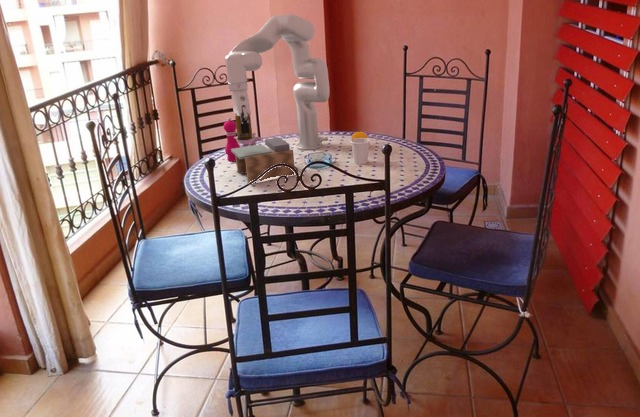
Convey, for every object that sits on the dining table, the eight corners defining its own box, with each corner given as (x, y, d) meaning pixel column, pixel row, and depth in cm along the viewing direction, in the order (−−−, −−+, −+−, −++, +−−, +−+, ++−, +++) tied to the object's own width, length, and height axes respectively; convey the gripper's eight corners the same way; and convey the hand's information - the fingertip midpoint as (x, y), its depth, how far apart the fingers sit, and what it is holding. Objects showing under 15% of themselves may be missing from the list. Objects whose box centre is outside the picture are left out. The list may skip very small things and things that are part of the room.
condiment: (250, 135, 227) (247, 106, 222) (257, 139, 219) (253, 109, 215) (233, 137, 224) (230, 108, 220) (239, 142, 217) (235, 112, 212)
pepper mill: (239, 162, 251) (233, 119, 244) (224, 162, 253) (218, 119, 245) (244, 157, 258) (239, 115, 250) (229, 157, 259) (224, 115, 252)
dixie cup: (360, 158, 244) (359, 136, 240) (374, 161, 238) (373, 139, 234) (347, 163, 238) (346, 141, 235) (361, 166, 233) (360, 143, 229)
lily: (267, 150, 270) (263, 132, 272) (256, 147, 260) (252, 128, 261) (247, 157, 275) (243, 139, 276) (235, 154, 264) (231, 135, 265)
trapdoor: (279, 147, 237) (278, 137, 236) (290, 154, 225) (289, 144, 223) (231, 155, 230) (230, 145, 228) (240, 163, 218) (239, 152, 216)
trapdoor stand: (284, 164, 243) (282, 140, 239) (298, 175, 227) (296, 149, 223) (237, 173, 235) (234, 148, 231) (248, 184, 220) (245, 158, 216)
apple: (363, 150, 257) (362, 134, 254) (348, 148, 261) (347, 133, 258) (370, 145, 263) (370, 130, 260) (356, 144, 267) (355, 129, 264)
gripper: (253, 88, 208) (258, 134, 215) (241, 82, 223) (246, 126, 230) (234, 90, 206) (239, 137, 213) (223, 85, 221) (229, 128, 227)
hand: (243, 131), depth 221 cm, fingers closed on condiment, 6 cm apart
